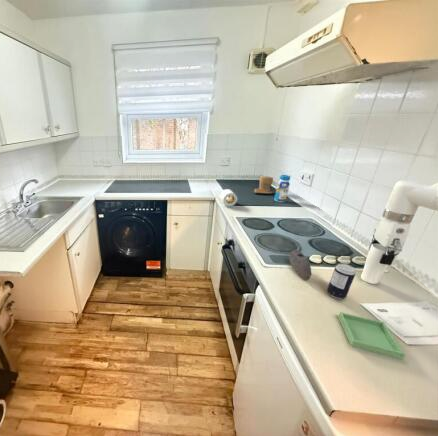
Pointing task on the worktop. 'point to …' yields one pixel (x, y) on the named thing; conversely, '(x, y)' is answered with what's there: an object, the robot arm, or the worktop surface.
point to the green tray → (370, 335)
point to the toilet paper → (231, 200)
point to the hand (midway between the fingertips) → (378, 257)
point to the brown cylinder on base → (264, 185)
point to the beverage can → (341, 281)
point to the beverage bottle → (282, 188)
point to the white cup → (374, 264)
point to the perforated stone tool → (300, 264)
